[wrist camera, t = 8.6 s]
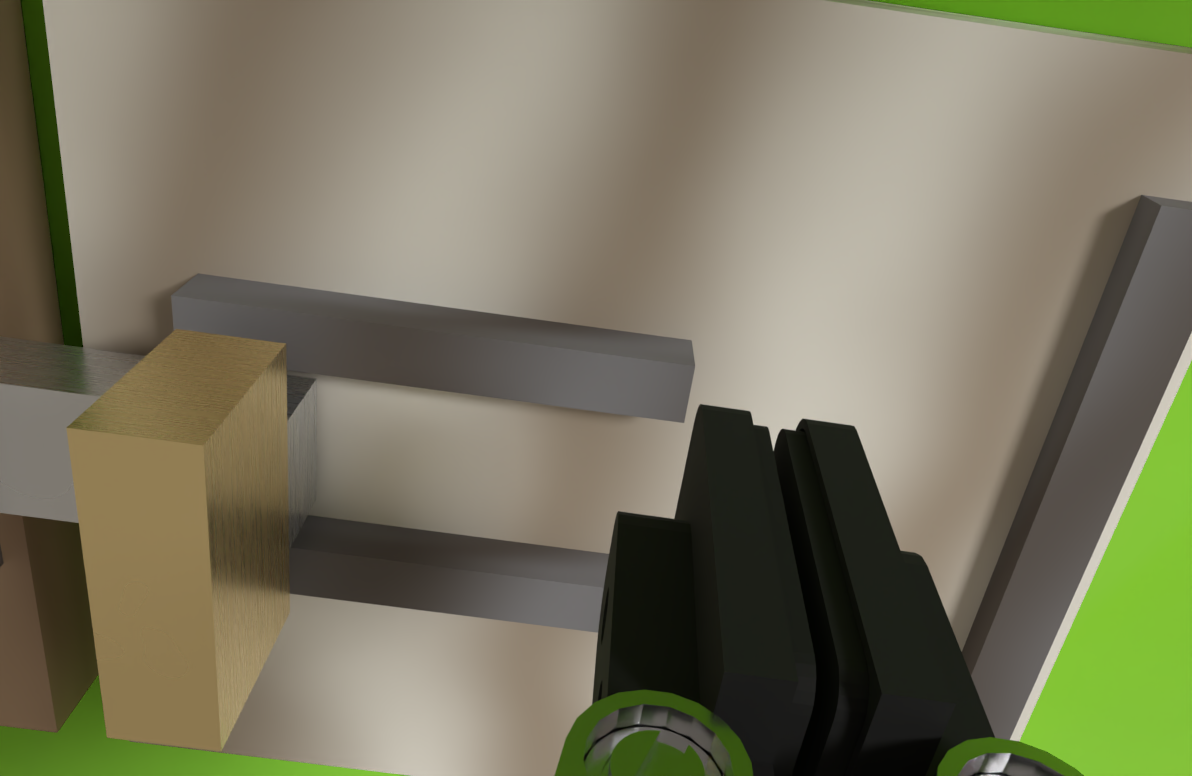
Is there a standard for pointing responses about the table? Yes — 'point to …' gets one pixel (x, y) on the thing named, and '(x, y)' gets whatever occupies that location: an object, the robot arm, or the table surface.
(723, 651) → the robot arm
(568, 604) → the door and frame
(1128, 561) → the table surface
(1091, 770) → the table surface
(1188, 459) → the table surface
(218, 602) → the bolt
